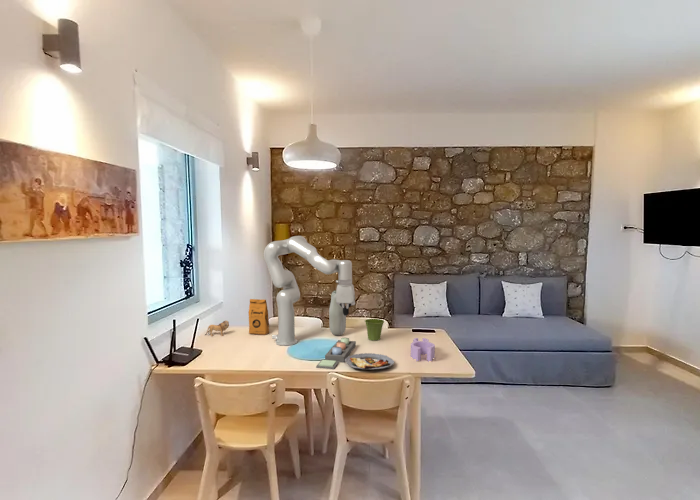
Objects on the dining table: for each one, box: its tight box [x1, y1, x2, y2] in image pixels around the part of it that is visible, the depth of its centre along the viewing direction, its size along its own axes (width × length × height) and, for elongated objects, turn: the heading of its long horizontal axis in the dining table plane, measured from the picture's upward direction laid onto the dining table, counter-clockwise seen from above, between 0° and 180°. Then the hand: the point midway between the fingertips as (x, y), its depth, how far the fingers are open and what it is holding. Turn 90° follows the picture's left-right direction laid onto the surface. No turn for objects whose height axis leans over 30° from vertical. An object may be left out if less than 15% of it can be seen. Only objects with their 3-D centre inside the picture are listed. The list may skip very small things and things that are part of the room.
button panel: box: [324, 339, 357, 363], centre depth 235 cm, size 10×28×3 cm, turn 167°
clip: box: [410, 337, 436, 362], centre depth 232 cm, size 20×12×7 cm, turn 177°
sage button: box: [340, 337, 350, 345], centre depth 244 cm, size 5×5×4 cm
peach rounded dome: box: [337, 342, 346, 350], centre depth 235 cm, size 5×5×4 cm
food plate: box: [344, 352, 395, 371], centre depth 218 cm, size 25×23×4 cm
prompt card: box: [315, 359, 340, 370], centre depth 217 cm, size 9×9×1 cm
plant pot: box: [364, 318, 385, 341], centre depth 262 cm, size 12×12×11 cm
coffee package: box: [248, 298, 270, 336], centre depth 274 cm, size 10×12×22 cm
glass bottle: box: [328, 290, 347, 336], centre depth 271 cm, size 10×10×28 cm
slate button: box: [331, 346, 342, 355], centre depth 227 cm, size 5×5×4 cm
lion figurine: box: [204, 320, 230, 337], centre depth 270 cm, size 15×5×9 cm, turn 103°
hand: (345, 315), depth 243 cm, fingers closed
